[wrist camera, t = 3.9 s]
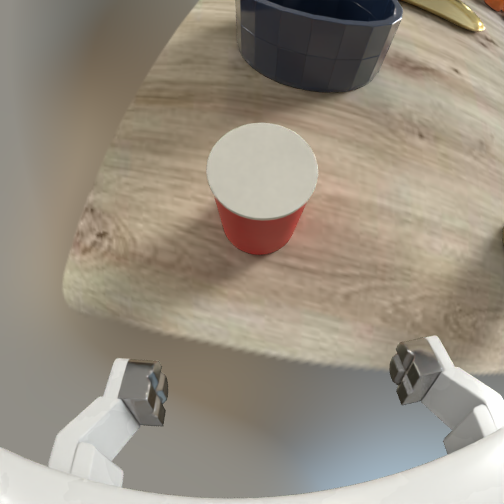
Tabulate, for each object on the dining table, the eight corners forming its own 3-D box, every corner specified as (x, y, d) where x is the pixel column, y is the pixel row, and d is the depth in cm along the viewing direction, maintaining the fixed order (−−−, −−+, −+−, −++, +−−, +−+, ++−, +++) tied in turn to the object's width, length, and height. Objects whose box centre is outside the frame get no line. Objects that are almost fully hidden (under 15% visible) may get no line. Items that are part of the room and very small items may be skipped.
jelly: (229, 264, 22) (217, 230, 14) (214, 193, 24) (198, 133, 16) (305, 246, 23) (332, 205, 15) (285, 179, 24) (299, 115, 16)
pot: (257, 101, 26) (259, 26, 17) (226, 17, 30) (222, -38, 21) (402, 91, 27) (433, 35, 18) (344, 13, 31) (356, -36, 22)
